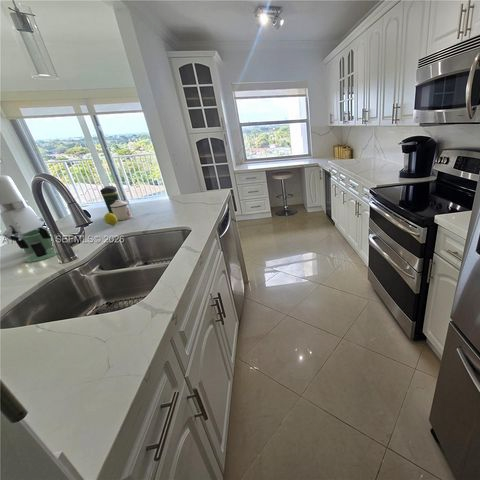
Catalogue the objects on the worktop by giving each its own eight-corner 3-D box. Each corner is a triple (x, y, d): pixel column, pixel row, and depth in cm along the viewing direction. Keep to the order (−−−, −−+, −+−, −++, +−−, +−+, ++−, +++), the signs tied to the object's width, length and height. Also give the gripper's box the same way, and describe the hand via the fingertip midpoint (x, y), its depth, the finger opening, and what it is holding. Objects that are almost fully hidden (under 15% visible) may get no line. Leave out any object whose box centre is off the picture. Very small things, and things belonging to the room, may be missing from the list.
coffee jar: (124, 215, 166) (113, 187, 158) (109, 218, 163) (97, 189, 155) (126, 211, 174) (116, 184, 166) (112, 213, 171) (101, 186, 163)
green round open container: (21, 256, 118) (11, 239, 114) (31, 247, 127) (21, 231, 123) (53, 249, 123) (44, 233, 119) (60, 241, 132) (51, 226, 128)
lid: (20, 266, 109) (10, 251, 106) (31, 255, 118) (22, 241, 115) (56, 258, 114) (48, 244, 111) (63, 248, 123) (56, 235, 120)
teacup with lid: (133, 218, 160) (126, 200, 155) (115, 221, 155) (107, 203, 150) (132, 213, 169) (125, 196, 164) (115, 216, 164) (108, 199, 159)
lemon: (110, 224, 151) (104, 212, 147) (120, 223, 152) (115, 210, 149) (106, 228, 146) (100, 215, 143) (117, 226, 147) (111, 213, 144)
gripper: (26, 200, 114) (47, 235, 121) (-20, 214, 98) (7, 253, 106) (42, 199, 114) (62, 234, 121) (-2, 212, 98) (24, 251, 106)
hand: (36, 243), depth 113 cm, fingers open, 9 cm apart
